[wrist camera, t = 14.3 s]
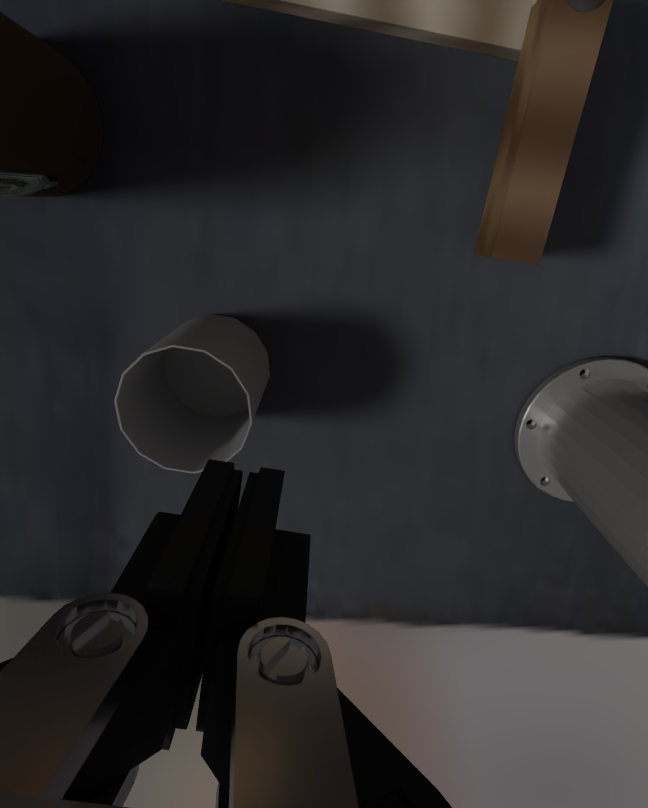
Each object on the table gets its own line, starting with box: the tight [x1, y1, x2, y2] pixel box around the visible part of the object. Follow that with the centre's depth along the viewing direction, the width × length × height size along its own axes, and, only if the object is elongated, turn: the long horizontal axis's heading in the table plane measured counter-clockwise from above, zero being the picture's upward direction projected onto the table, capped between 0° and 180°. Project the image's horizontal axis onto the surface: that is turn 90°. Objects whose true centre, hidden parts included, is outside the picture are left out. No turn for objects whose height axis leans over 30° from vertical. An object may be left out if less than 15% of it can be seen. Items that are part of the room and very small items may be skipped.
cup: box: [114, 314, 270, 473], centre depth 35 cm, size 8×8×10 cm
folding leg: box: [474, 0, 613, 265], centre depth 30 cm, size 15×3×4 cm, turn 172°
